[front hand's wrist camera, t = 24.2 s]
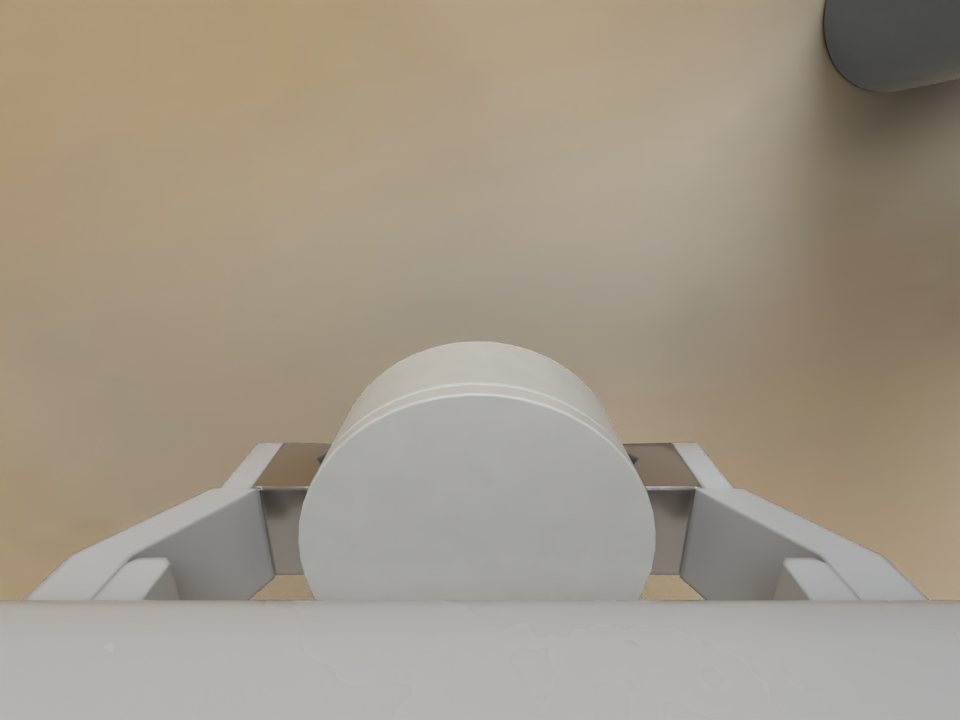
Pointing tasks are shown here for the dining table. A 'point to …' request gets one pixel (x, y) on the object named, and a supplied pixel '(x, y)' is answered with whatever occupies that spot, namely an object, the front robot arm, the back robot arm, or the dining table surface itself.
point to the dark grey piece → (894, 42)
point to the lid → (477, 487)
